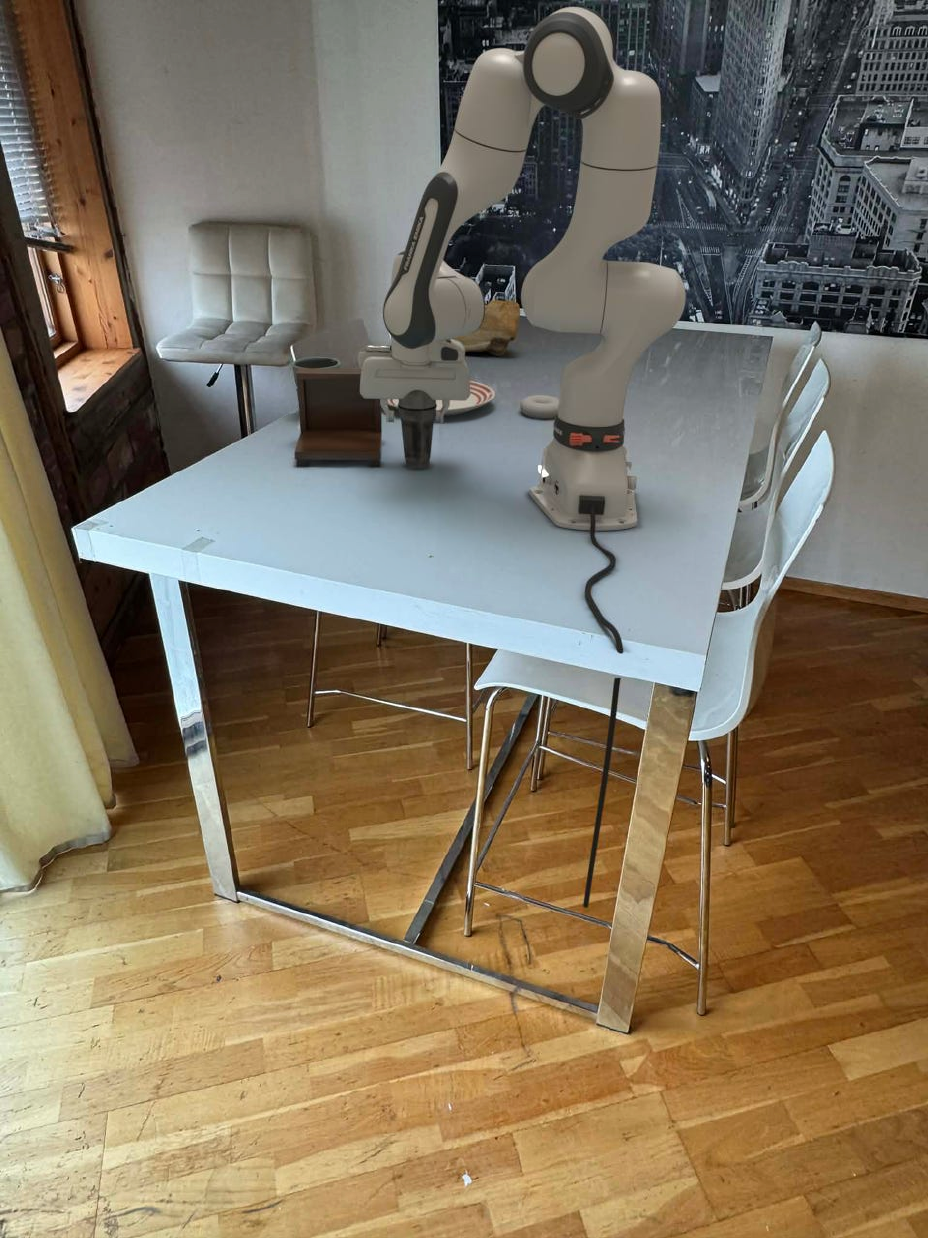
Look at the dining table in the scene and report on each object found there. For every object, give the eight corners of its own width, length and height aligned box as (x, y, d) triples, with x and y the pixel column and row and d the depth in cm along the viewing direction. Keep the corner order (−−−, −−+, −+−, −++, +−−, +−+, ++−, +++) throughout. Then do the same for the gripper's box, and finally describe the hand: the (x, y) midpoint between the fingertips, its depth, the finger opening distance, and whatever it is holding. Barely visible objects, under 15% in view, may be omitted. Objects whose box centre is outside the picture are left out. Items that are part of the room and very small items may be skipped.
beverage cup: (392, 468, 160) (390, 360, 150) (406, 457, 166) (405, 352, 156) (429, 473, 158) (429, 364, 148) (441, 461, 164) (442, 356, 154)
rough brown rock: (529, 352, 249) (532, 298, 242) (513, 359, 234) (516, 302, 228) (455, 346, 255) (456, 293, 249) (435, 353, 241) (436, 297, 235)
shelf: (380, 467, 160) (379, 389, 153) (295, 466, 159) (289, 389, 152) (382, 441, 173) (380, 369, 166) (303, 441, 172) (298, 368, 165)
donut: (516, 419, 190) (561, 422, 188) (517, 403, 188) (562, 406, 186) (522, 406, 198) (565, 409, 196) (523, 391, 196) (566, 394, 195)
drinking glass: (351, 415, 188) (349, 360, 182) (323, 427, 180) (319, 370, 174) (315, 407, 192) (312, 354, 186) (286, 418, 184) (281, 363, 178)
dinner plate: (359, 416, 188) (359, 401, 186) (396, 384, 211) (396, 371, 209) (480, 428, 182) (480, 413, 181) (504, 395, 205) (505, 381, 204)
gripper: (356, 349, 147) (358, 426, 154) (473, 352, 149) (469, 428, 156) (357, 340, 152) (359, 415, 159) (470, 343, 154) (467, 417, 161)
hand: (414, 421), depth 158 cm, fingers open, 8 cm apart
